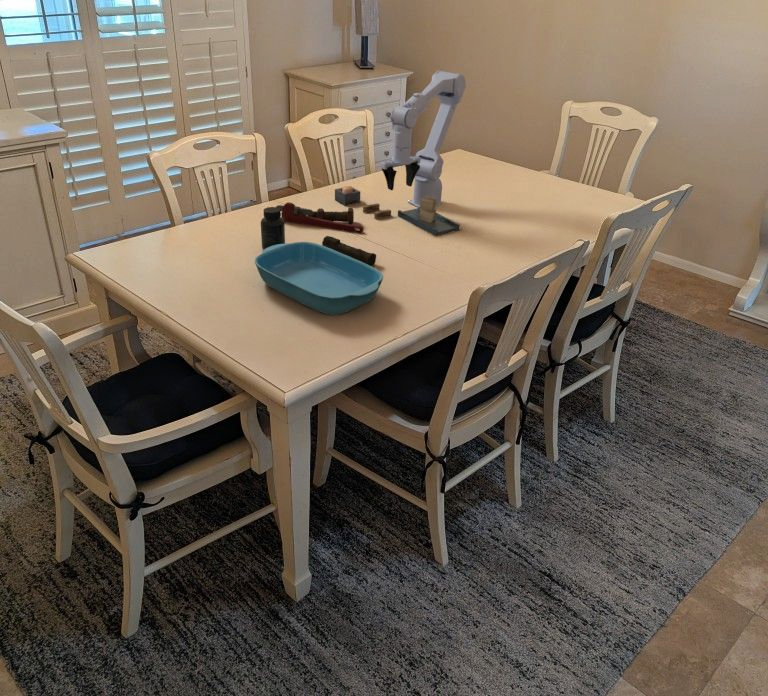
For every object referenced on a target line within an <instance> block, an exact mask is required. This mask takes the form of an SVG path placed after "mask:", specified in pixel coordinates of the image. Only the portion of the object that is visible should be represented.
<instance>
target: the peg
mask: <svg viewBox="0 0 768 696" xmlns="http://www.w3.org/2000/svg"><path fill="white" fill-rule="evenodd" d="M437 209H438V205H437V198H433V197H429V196H425V197H424V198H422V199H421V204H420V218H419V220H421V221H426V222H430V223H431V222H432V221H433V220H435V219H436V213H437Z"/></svg>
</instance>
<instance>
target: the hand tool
mask: <svg viewBox="0 0 768 696" xmlns="http://www.w3.org/2000/svg"><path fill="white" fill-rule="evenodd" d="M322 246H325V247H328V248H330V249H332V250H335V251H337V252H340V253H342V254H344V255H347V256H349V257H351V258H354V259H356V260H358V261H361V262H363V263H365V264H367V265H369V266H371V267H374V266H375V264H376V260H377V254H376V253H375V252H374V253H373V252H367V251H365V250H363V249H361V248H357V247H354V246H351V245H348V244H346V243H343V242H341V239H339V238H336V237H333V236H331V235H326V236H324V237H323V239H322Z"/></svg>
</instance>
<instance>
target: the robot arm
mask: <svg viewBox="0 0 768 696" xmlns="http://www.w3.org/2000/svg"><path fill="white" fill-rule="evenodd" d="M466 83H467V82H466V78H465V75H464V74H462V73H460V74H459V73H456V72H448V71H443V70H441V69H440V70H439V69H438V70H437V71H435V72H434V74H432V76H431V82H430V83H429V84H427V86H426V87H425V88H424V89H423V91H422V92H414V93H413V94H412V96H411V97H410V98H409V99H408V100H406V101H405V102H404V103H402V105H397V106H396V107H394V108H393V109H392V111H391V114H390V122H391V124H392V131H393V138H392V139H393V140H392V141H393V142H392V157H391V158H390V159H387V160H385V161H381V162H380V163H381V164H380V168H381V170H382V173H383V175H384V177H385V181H386V186H387V189H388V190H390V191H393V190H394V189H395V188H394V186H395V177H396V175H397V172H398V171H397V170H396V169H394V168H396V167H403V166H404V168H405V174H406V176H405V183H406V184H405V185H406V186H408V187H412V186H414V187H413V199H410V200H409V199H408V200H407V202H408V203H410V204H411V205H413V206H415V207H417V208H419V207H420V204H421V199H422V198H424V197H425V196H429V197H433V198H437V206H440V205H443V202H442V193H443V183H442V181H441V178H440V177H441V176H442V172H443V165H444V160H443V158H442V156H441V153H440V152H441V150H442V147H443V145H444V142H445V139H446V137H447V133H448V131H449V128H450V126H451V123H452V120H453V118H454V115H455V112H456V109H457V107H458V104H460V103H461V100H462V97H463V95H464V94H465V93H464V92H465V90H466V87H467V84H466ZM435 97H436V98H437V99H438V100H439V101H440V106H439V109H438V112H437V114H436V118H435V120H434V122H433V125H432V127H431V130H430V133H429V136H428V139H427V141H426V144H425V147H424V148H423V149H420V150H419V151H416V153H415V155H414V156H411V152H412V135H413V127H415V125H416V123H417V120H418V119H419V116H420V115H421V114H422V113H424V111H425V110H426V109H427V108H428V107H429V102H430V101H431V100H433V99H434V98H435ZM413 183H414V185H413Z"/></svg>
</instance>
